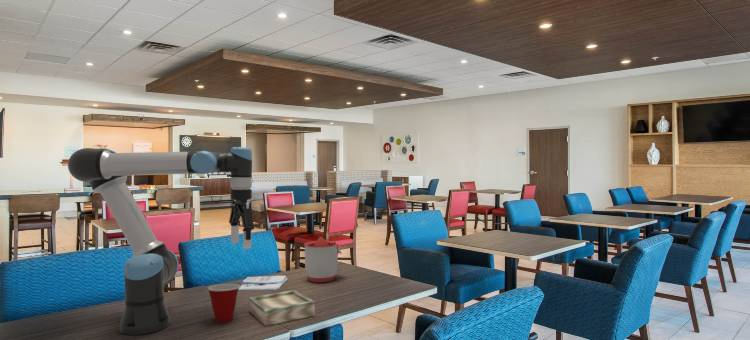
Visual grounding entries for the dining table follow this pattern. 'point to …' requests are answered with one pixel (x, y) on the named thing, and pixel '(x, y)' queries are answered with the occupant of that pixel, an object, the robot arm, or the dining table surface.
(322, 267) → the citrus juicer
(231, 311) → the plastic cup
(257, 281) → the white flat piece
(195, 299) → the dining table surface
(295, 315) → the stand
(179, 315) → the dining table surface
